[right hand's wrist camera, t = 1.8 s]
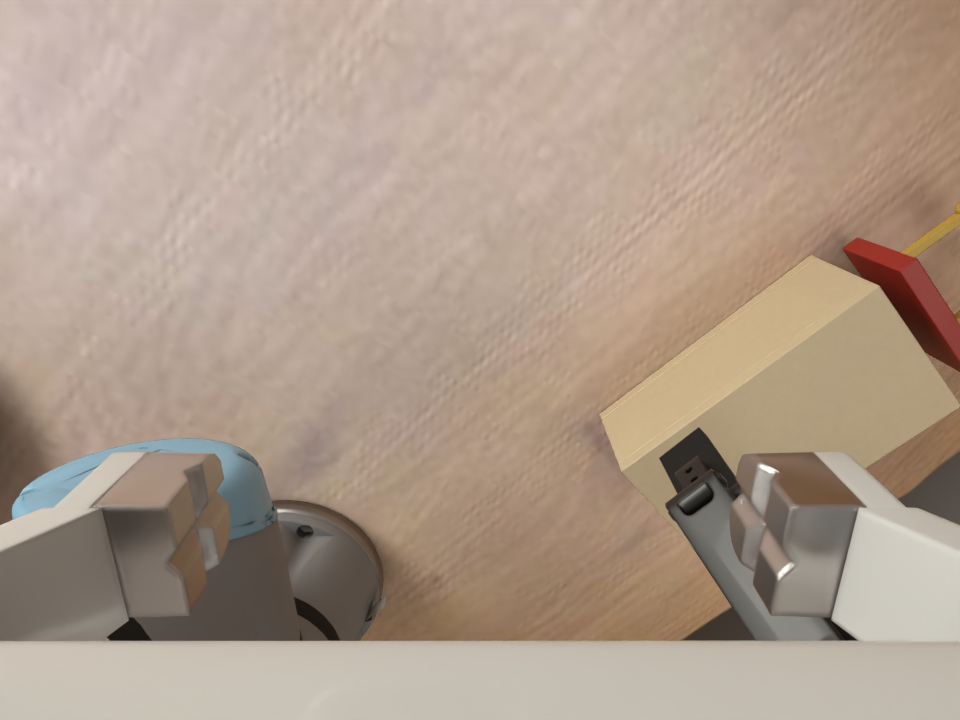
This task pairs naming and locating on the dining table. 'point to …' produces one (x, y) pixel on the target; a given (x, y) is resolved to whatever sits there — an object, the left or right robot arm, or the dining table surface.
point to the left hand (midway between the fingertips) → (756, 522)
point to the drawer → (913, 290)
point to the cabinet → (785, 382)
